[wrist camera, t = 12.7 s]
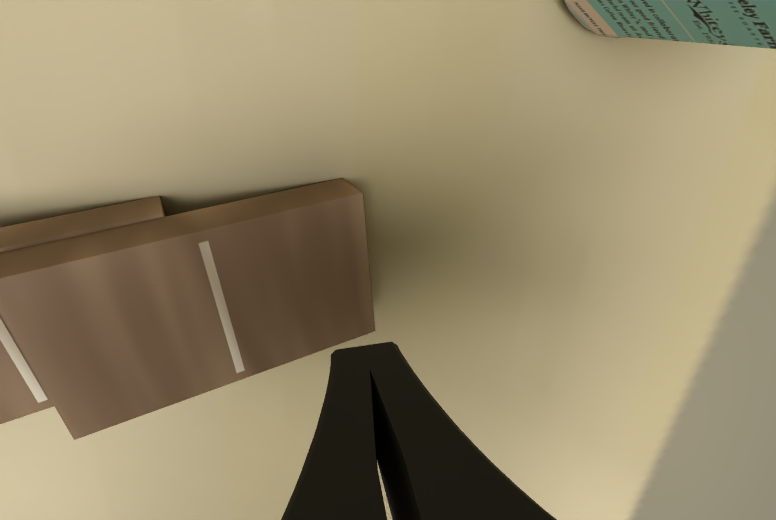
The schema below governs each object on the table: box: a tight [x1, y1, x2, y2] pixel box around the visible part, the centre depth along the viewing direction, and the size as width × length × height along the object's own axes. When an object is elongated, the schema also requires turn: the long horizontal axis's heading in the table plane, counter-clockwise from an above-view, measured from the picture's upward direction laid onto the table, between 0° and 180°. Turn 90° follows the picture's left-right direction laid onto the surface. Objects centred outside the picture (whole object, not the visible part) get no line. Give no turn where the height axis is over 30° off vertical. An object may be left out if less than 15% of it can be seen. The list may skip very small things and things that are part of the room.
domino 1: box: [0, 196, 166, 424], centre depth 13 cm, size 2×5×9 cm
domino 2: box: [0, 178, 375, 440], centre depth 13 cm, size 2×5×9 cm
